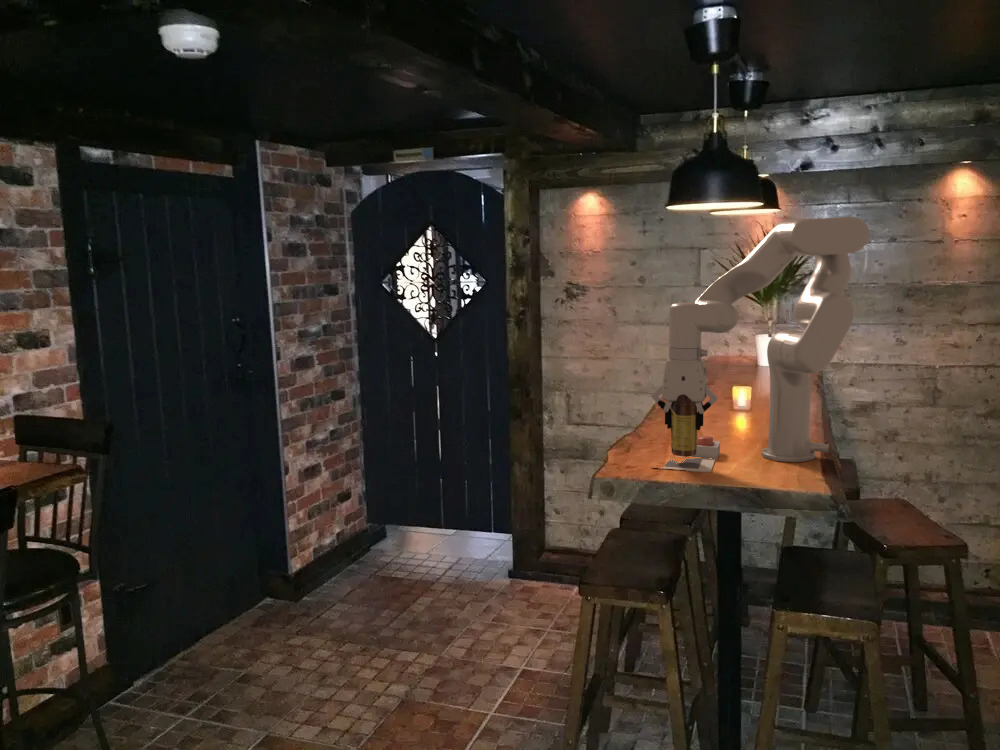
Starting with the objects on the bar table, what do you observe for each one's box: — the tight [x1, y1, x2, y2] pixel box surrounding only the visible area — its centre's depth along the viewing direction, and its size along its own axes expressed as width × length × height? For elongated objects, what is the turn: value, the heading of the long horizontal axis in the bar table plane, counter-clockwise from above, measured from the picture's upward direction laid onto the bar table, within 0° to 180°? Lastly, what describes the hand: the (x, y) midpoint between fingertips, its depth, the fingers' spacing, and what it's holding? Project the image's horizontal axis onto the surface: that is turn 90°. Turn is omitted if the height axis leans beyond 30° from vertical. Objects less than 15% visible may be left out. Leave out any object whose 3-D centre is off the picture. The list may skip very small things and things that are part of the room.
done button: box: [697, 435, 714, 446], centre depth 209 cm, size 4×4×3 cm
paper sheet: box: [661, 457, 716, 473], centre depth 201 cm, size 14×12×1 cm
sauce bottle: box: [670, 376, 698, 457], centre depth 200 cm, size 6×6×20 cm
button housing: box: [692, 440, 721, 460], centre depth 210 cm, size 7×7×3 cm
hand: (683, 427), depth 200 cm, fingers closed on sauce bottle, 6 cm apart
